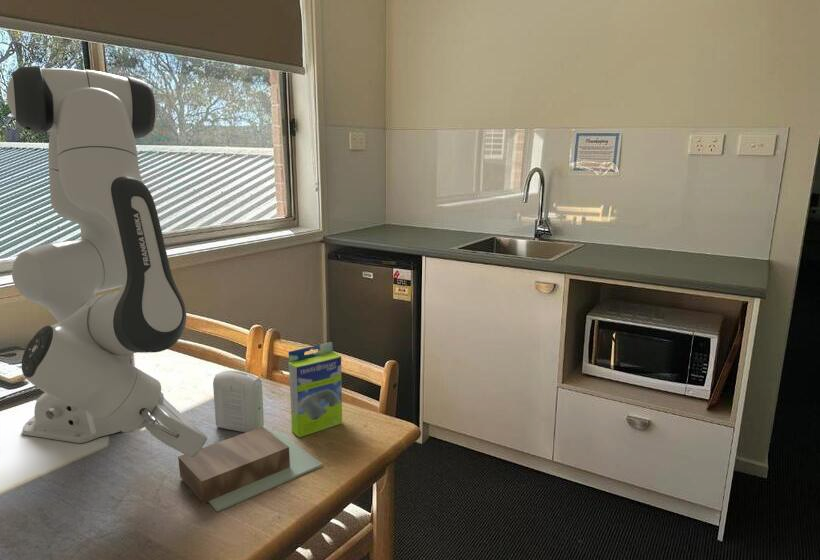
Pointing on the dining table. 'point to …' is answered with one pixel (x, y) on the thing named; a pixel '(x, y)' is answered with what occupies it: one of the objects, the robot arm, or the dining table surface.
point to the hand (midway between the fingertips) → (199, 437)
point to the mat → (271, 476)
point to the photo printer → (238, 401)
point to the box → (315, 389)
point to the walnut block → (233, 463)
